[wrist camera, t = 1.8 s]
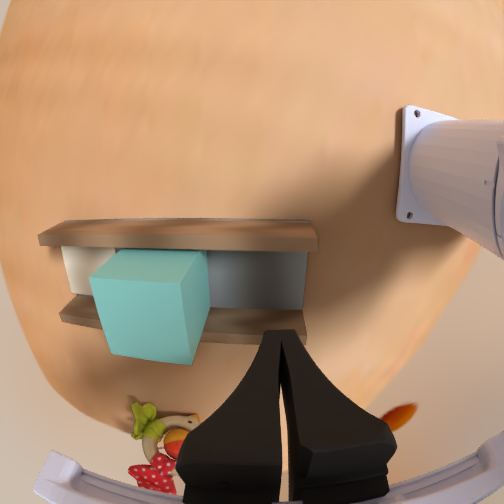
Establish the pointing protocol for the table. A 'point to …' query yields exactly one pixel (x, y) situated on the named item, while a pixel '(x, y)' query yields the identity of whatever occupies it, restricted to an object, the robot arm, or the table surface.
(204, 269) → the block
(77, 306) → the chute
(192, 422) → the bird rattle
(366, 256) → the table surface
